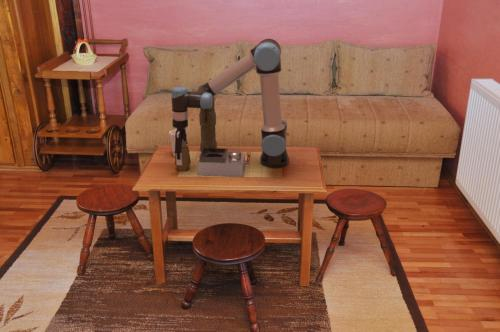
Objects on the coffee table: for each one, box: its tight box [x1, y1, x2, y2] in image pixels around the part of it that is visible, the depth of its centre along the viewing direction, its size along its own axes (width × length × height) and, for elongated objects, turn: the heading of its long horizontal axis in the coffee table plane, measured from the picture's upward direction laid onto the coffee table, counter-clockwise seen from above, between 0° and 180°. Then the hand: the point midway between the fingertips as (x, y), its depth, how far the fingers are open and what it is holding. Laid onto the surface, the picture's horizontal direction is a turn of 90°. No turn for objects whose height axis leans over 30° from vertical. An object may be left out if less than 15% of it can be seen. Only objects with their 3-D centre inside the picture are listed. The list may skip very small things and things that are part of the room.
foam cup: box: [168, 128, 188, 157], centre depth 280 cm, size 10×9×13 cm
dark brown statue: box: [198, 96, 218, 153], centre depth 277 cm, size 9×12×35 cm
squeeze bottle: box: [174, 139, 192, 172], centre depth 261 cm, size 8×8×18 cm
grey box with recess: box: [197, 147, 246, 178], centre depth 263 cm, size 22×18×10 cm
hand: (181, 160), depth 263 cm, fingers open, 10 cm apart
